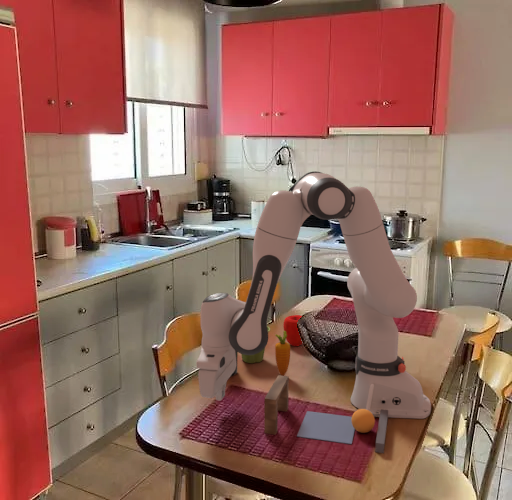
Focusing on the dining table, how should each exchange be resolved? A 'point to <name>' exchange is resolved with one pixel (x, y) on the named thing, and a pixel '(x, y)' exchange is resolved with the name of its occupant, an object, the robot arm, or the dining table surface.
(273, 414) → the bridge
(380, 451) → the stopper wall
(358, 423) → the ball
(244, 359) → the plant pot
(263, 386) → the dining table surface
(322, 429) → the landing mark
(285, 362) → the carrot
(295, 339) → the apple
